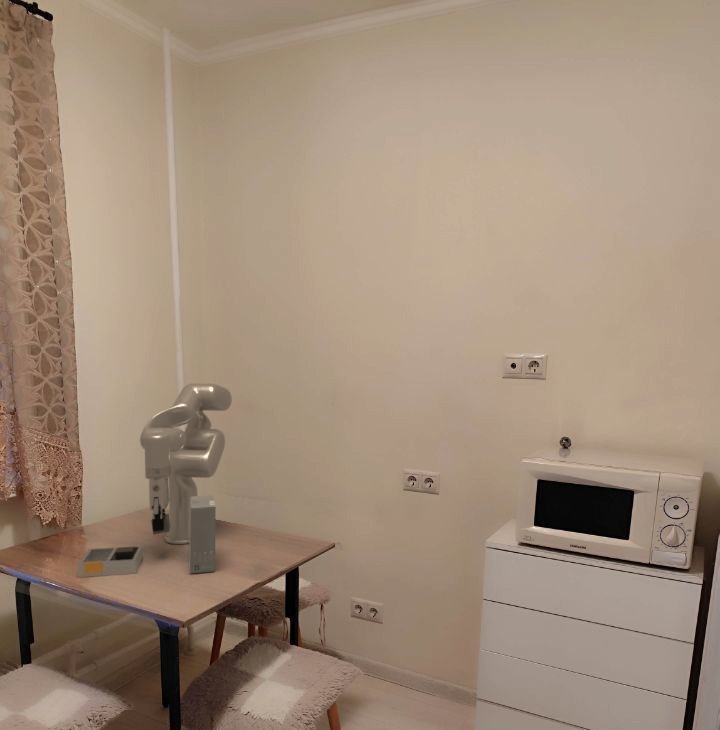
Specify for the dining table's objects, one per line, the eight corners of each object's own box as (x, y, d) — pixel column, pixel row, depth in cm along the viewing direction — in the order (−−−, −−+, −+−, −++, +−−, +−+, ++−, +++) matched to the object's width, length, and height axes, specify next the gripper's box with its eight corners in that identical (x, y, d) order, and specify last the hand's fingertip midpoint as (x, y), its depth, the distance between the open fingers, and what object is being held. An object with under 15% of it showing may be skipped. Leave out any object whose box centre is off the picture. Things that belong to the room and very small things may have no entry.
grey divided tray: (142, 557, 185) (142, 541, 185) (135, 573, 172) (135, 556, 172) (89, 561, 182) (89, 544, 182) (77, 577, 169) (77, 559, 169)
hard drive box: (215, 572, 174) (215, 506, 173) (189, 575, 172) (189, 508, 171) (213, 554, 189) (213, 494, 188) (189, 556, 187) (189, 495, 186)
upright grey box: (170, 527, 187) (168, 513, 186) (169, 531, 183) (167, 518, 183) (155, 529, 186) (153, 516, 186) (153, 534, 182) (151, 520, 182)
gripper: (166, 478, 175) (168, 536, 177) (173, 464, 192) (174, 518, 193) (140, 479, 174) (142, 538, 175) (149, 465, 190) (151, 519, 192)
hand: (159, 527), depth 184 cm, fingers closed on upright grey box, 4 cm apart
